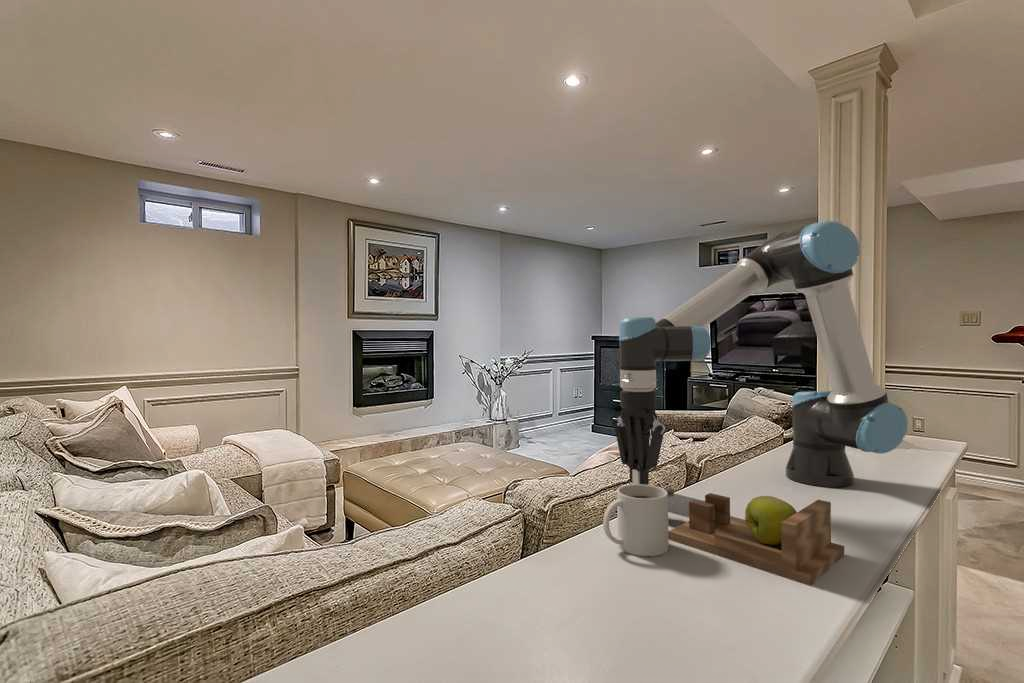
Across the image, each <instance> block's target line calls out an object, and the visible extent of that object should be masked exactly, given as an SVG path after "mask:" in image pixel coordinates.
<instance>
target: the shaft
mask: <svg viewBox="0 0 1024 683" xmlns="http://www.w3.org/2000/svg"><path fill="white" fill-rule="evenodd" d="M663 489H664V490H666V491H667V493H668V513H670V514H673V515H674V514H675V515H678V516H681V517H685V518H688V519H689V502H690V501H693V500H698V501H702V502H706V503H710V504H714V503H711V502H707V501H705V500H701V499H698V498H695V497H694V498H693V497H691V496H686V495H682V494H678V493H674V492H675V490H674V488H673V487H672V488H671V487H667V488H663Z"/></svg>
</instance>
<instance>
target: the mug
mask: <svg viewBox="0 0 1024 683" xmlns="http://www.w3.org/2000/svg"><path fill="white" fill-rule="evenodd" d="M664 489H665V488H663V487H660V486H659V487H658V486H655V485H650V484H648V485H643V484H633V483H631V484H626V485H622V486H620V487H618V488H617V489H616V496H617V499H614V500H612V501H611V502H610V503H609V504H608V505H607V507H606V508H605V510H604V514H603V521H602V523H603V524H602V525H603V531H604V533H605V535H606V537H607V538H608V539H609V540H610V541H611V542H613V543H614V544H616V545H617V546H618V548H620V550H621V551H623V552H624V553H627V554H629V555H632V556H633V555H634V556H637V557H647V556H651V557H659V556H662V555H664V554H666V553H667V552H668V551H669V546H670V545H669V539H668V531H669V512H668V493H667V491H666V490H664ZM615 509H616V510H617V512H616V513H617V517H616V518H617V519H616V520H617V537H614V536H613V534H612V533H611V530H610V518H611V515H612V514H613V511H614V510H615ZM658 555H659V556H658Z"/></svg>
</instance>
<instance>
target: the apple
mask: <svg viewBox="0 0 1024 683" xmlns="http://www.w3.org/2000/svg"><path fill="white" fill-rule="evenodd" d="M797 512H798V511H796V509H795V507H793V506H792V504H789V503H788V502H786V501H785V500H783V499H780V498H779V497H774V496H771V495H760V496H759V495H758V496H757V497H754V498H752V499H751V500H750V501H749V502H748V503H747V505H746V507H745V512H744V513H745V515H744V516H745V517H744V520H745V521H746V523H747V526H748V528H749V529H750V531H751V533H752V534H753V536H754V537H755V538H756V539H757V540H758V541H760V542H762V543H764V544H767V545H778V544H782V542H781V522H782V521H784V520H786V519H787V518H789V517H791V516H792V515H794V514H795V513H797Z"/></svg>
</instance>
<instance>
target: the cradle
mask: <svg viewBox="0 0 1024 683" xmlns="http://www.w3.org/2000/svg"><path fill="white" fill-rule="evenodd" d="M704 498H705V499H704V501H707V502H711V503H714V504H710V503H706V502H702V501H698V500H693V501H690V502H689V518H688V519H689V521H687V522H684V523H682V524H680V525H678V526H675V527H673V528H672V529H668V540H669V541H673V542H676V543H678V544H682V545H685V546H689V547H692V548H694V549H697V550H701V551H703V552H707V553H710V554H713V555H715V556H718V557H723V558H725V559H727V560H731V561H734V562H738V563H741V564H743V565H746V566H750V567H751V568H756V569H758V570H762V571H765V572H768V573H771V574H774V575H776V576H780V577H783V578H786V579H789V580H791V581H795V582H798V583H802V584H805V585H807V586H811V585H813V583H814V582H815V581H817V580H818V579H819V578H820V577H821V576H822V575H823V574H825V572H826V571H828V570H829V569H830V568H831V567H832V566H834V564H836V563H837V562H838V561H839V560H840V559H841V558H842V557H843V556H844V555H845V545H842V544H840V543H836V542H832V508H831V507H832V502H830V501H828V500H821V499H817V500H814V502H812V503H810V504H808V505H807V506H805V507H803V508H802V509H800V510H798V511H796V512H797V513H795V514H794V515H792V516H791V517H789V518H787V519H786V520H784V521H782V522H781V542H782V544H778V545H767V544H764V543H762V542H760V541H758V540H757V539H756V538H755V537H754V536H753V534H752V533H751V531H750V529H749V528H748V526H747V523H746V521H745V518H744V519H743V518H740V517H736V516H732V515H731V497H730V496H729V497H728V496H724V495H720V494H715V493H712V492H709V493H708V494H705V495H704Z"/></svg>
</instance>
